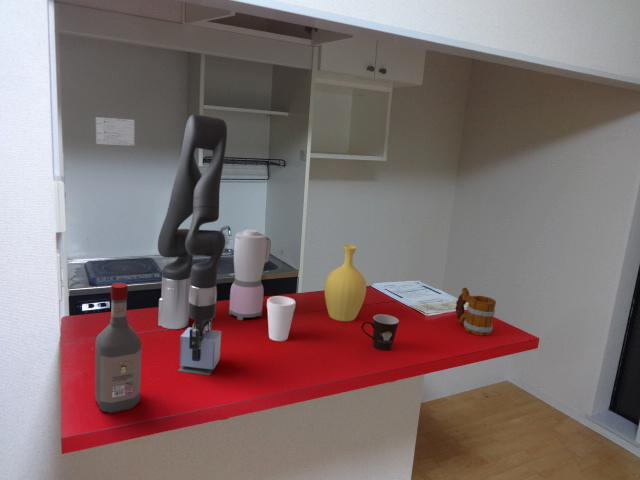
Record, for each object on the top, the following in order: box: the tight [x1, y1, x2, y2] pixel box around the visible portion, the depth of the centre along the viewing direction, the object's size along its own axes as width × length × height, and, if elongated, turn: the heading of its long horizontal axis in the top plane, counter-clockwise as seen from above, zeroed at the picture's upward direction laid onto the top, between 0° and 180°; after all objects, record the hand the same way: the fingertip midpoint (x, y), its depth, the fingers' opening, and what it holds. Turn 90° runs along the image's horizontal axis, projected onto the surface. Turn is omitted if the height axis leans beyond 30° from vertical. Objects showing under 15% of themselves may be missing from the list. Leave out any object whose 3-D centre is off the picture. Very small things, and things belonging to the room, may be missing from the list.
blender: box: [228, 228, 272, 321], centre depth 184 cm, size 16×12×32 cm
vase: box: [324, 244, 367, 322], centre depth 192 cm, size 16×16×28 cm
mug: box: [455, 287, 497, 336], centre depth 194 cm, size 11×16×15 cm, turn 41°
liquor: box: [94, 282, 142, 414], centre depth 119 cm, size 9×9×30 cm
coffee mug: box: [361, 314, 400, 352], centre depth 170 cm, size 12×9×10 cm
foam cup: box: [266, 295, 296, 342], centre depth 168 cm, size 10×9×13 cm
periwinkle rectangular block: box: [179, 326, 222, 371], centre depth 143 cm, size 10×7×9 cm
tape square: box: [177, 366, 214, 376], centre depth 144 cm, size 9×9×1 cm
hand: (200, 354), depth 143 cm, fingers closed on periwinkle rectangular block, 6 cm apart
